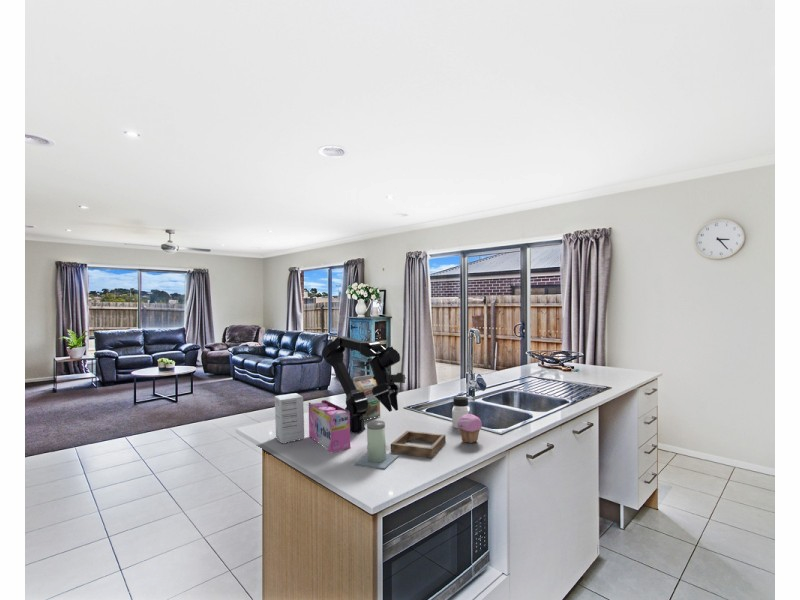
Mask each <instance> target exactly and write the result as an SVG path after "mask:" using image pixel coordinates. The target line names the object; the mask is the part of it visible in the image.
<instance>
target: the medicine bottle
mask: <svg viewBox="0 0 800 600" xmlns="http://www.w3.org/2000/svg"><path fill="white" fill-rule="evenodd" d="M470 409H471V408H470V406H469V398H468V397H466V396H463V395H462V396H460V395H459V396H455V397H453V407H452V410H451V419H452V420H451V422H452V424H451V426H452V428H453V429H456V428H457V429H460V428H459V427H458V421H459V419H460V418H461V417H462V416H463V415H466V414H471V410H470Z"/></svg>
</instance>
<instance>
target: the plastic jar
mask: <svg viewBox="0 0 800 600" xmlns="http://www.w3.org/2000/svg"><path fill="white" fill-rule="evenodd" d="M366 433H367V435H366V436H367V440H366V441H367V453H368V461H369V462H372V463H380V462H383V461H385V460H386V454H387V453H386V452H387V448H386V447H387V445H386V443H387V442H386V422H385V421H383V420H371V421H367V423H366Z"/></svg>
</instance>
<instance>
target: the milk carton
mask: <svg viewBox="0 0 800 600" xmlns="http://www.w3.org/2000/svg"><path fill="white" fill-rule="evenodd" d="M352 381H353V383H354V385H355V387H356V389H357V390H358V391H359V392H362V391H363V392H364V394H365V396H366V398H367V399H368V400H367V401H368V408H367V412H366V414H364V415H363V419H364V420H367V419H370V418H374V417H378V416H380V417H381V402H380V401H379V400H378V399H377V398H376V397H375V396H376V395H373V393H372V389H373V387H375V386H377V384H376V381H375V380H374V379H373V374H367V375H362V376H355V377H353V380H352ZM377 395H378V394H377ZM378 418H379V417H378ZM374 419H375V418H374ZM370 420H371V419H370ZM367 421H368V420H367Z"/></svg>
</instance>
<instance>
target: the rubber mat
mask: <svg viewBox="0 0 800 600" xmlns="http://www.w3.org/2000/svg"><path fill="white" fill-rule="evenodd" d="M399 457H400V454H399V455H398V454H390V453H386V460H385V461H383V462H380V463H372V462H369V461H368V452H367V453H366V454H365V455H364V456H362V457H361V458H360V459H358V460H357V461H356V462H354V463H353V464H354V466H358V467H366V468H373V469H380V470H386V469H387V468H389V466H390V465H392V464H393V463H394V462H395V461H396V460H398V458H399Z"/></svg>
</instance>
